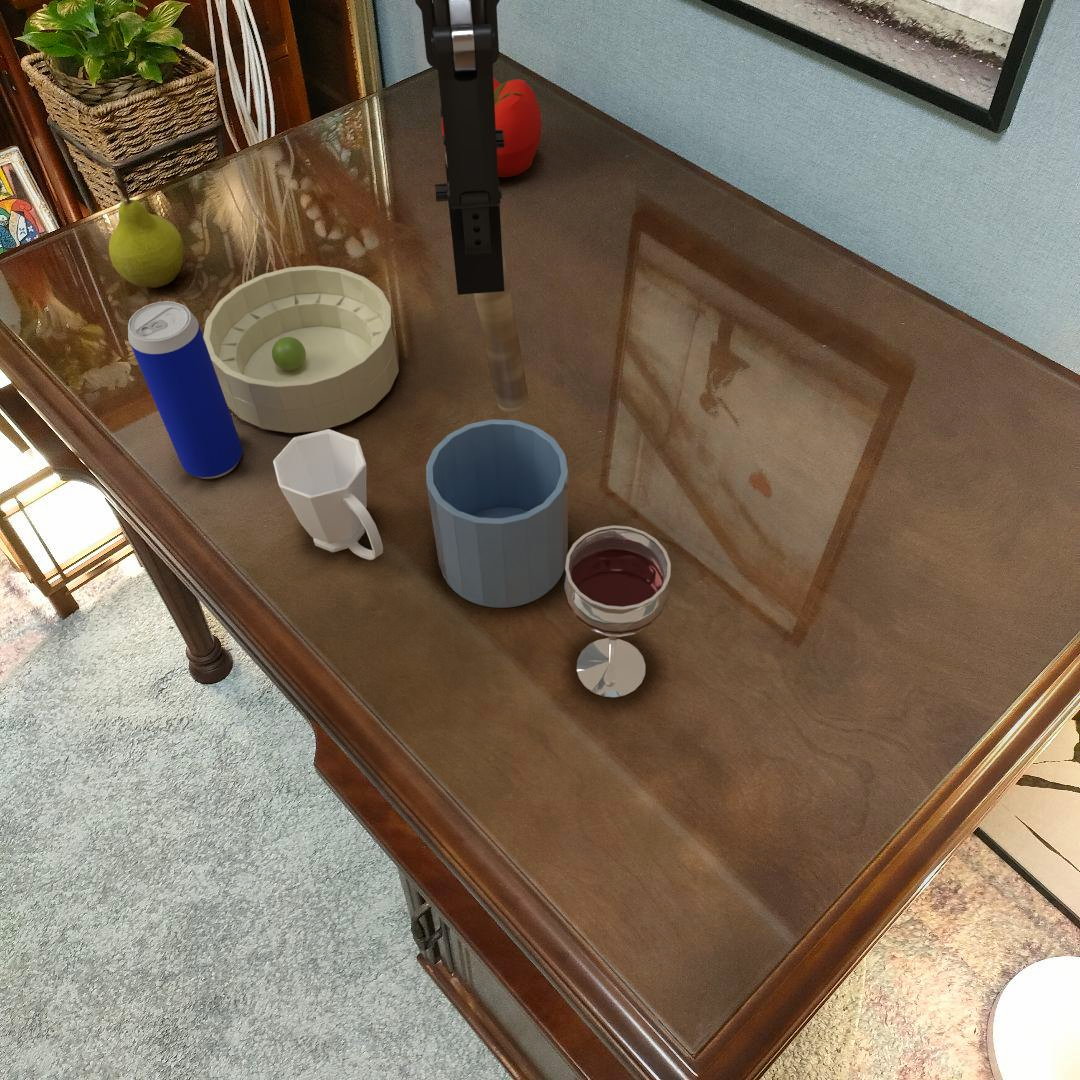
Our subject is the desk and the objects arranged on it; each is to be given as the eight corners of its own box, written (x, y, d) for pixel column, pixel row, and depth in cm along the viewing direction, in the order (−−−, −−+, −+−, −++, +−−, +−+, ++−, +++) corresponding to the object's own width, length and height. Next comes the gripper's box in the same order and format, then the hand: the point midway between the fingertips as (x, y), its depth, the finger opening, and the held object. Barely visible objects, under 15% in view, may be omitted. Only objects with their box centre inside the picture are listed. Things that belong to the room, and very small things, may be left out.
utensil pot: (441, 614, 77) (428, 530, 69) (437, 512, 83) (424, 424, 75) (573, 602, 77) (575, 517, 69) (559, 501, 83) (559, 413, 76)
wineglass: (674, 690, 72) (690, 591, 63) (585, 721, 71) (588, 624, 61) (635, 616, 76) (645, 512, 67) (550, 644, 75) (548, 542, 65)
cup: (348, 484, 85) (331, 414, 79) (421, 554, 80) (409, 486, 74) (277, 528, 82) (253, 459, 76) (348, 603, 77) (329, 536, 71)
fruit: (135, 258, 105) (93, 151, 96) (200, 259, 105) (165, 151, 96) (115, 301, 101) (69, 192, 92) (183, 301, 101) (144, 193, 91)
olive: (301, 361, 95) (272, 343, 94) (315, 343, 93) (286, 324, 92) (291, 382, 93) (261, 364, 92) (305, 364, 91) (276, 345, 90)
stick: (500, 423, 68) (443, 151, 52) (496, 400, 69) (440, 129, 54) (532, 416, 68) (485, 143, 52) (528, 394, 69) (481, 122, 54)
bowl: (212, 444, 88) (193, 393, 84) (230, 324, 98) (213, 272, 94) (400, 429, 89) (391, 378, 84) (398, 311, 99) (390, 259, 94)
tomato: (551, 141, 118) (550, 64, 111) (526, 199, 111) (524, 120, 104) (462, 131, 120) (456, 55, 113) (432, 188, 112) (424, 110, 105)
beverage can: (221, 429, 89) (170, 289, 78) (256, 459, 87) (208, 319, 75) (171, 460, 87) (110, 321, 75) (205, 492, 85) (148, 353, 73)
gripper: (553, -145, 37) (556, 354, 55) (517, -264, 46) (530, 196, 65) (344, -133, 37) (418, 365, 55) (352, -255, 46) (412, 204, 64)
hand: (479, 273), depth 60 cm, fingers closed on stick, 2 cm apart
